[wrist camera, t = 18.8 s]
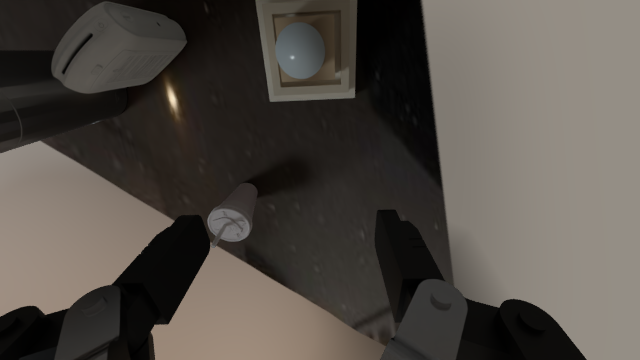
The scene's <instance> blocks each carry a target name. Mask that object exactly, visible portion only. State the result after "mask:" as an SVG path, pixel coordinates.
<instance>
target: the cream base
mask: <svg viewBox="0 0 640 360" xmlns="http://www.w3.org/2000/svg"><path fill="white" fill-rule="evenodd" d="M255 1H256V7H257V14H258V21H259V28H260V35H261V42H262V49H263V56H264V63H265V70H266V77H267V83H268V90H269V97H270V102H275V101H297V100H318V99H340V98H355V69H356V27H357V0H255ZM333 14H334V47H335V80H316V81H295V82H282V79H281V71H280V65H279V63H278V61H277V58H276V52H275V47H276V41H277V37H276V28H275V19H274V18H282V17H299V16H316V15H333Z"/></svg>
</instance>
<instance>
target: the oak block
mask: <svg viewBox="0 0 640 360" xmlns="http://www.w3.org/2000/svg"><path fill="white" fill-rule="evenodd" d="M274 19H275V28H276V37H277V38H278V36H279V34H280V32H281V31H282V30H283V29H284V28H285V27H286V26H288V25H290V24H292V23H296V22H303V23H307V24H309V25H311V26H312V27H314V28H315V29H316V30H317V31H318V32H319V34H320V35H321V37H322V39H323V42H324V46H325V58H324V62H323V64H322V66H321V68H320V69H319V71H318V72H317V73H316V74H314V75H313V76H311V77H309V78H306V79H297V78H293V77H291V76H289V75H288V74H286V73H285V72H284V71H283V70H282V68H281V67H280V71H281V79H282V82H295V81H316V80H335V47H334V14H333V15H316V16H299V17H282V18H274Z"/></svg>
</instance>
